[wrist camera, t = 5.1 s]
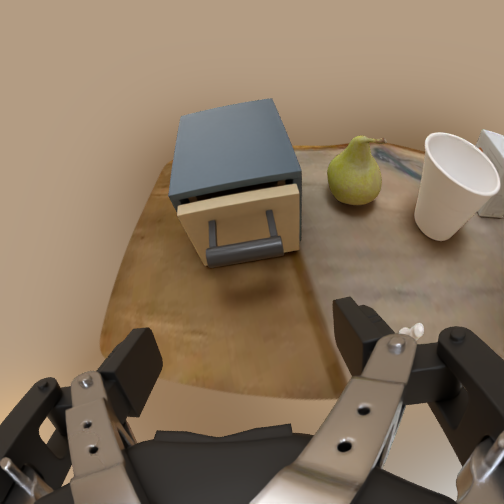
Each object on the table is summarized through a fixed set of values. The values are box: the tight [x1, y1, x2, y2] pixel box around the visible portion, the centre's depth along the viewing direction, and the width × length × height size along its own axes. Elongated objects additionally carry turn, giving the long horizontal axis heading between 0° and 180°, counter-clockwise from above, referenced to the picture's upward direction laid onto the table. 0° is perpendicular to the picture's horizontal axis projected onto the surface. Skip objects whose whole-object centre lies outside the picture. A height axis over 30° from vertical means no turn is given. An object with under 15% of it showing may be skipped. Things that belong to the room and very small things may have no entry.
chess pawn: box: [399, 323, 424, 340], centre depth 22 cm, size 3×2×4 cm
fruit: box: [327, 136, 387, 205], centre depth 28 cm, size 7×8×12 cm
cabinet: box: [168, 99, 302, 241], centre depth 31 cm, size 15×12×11 cm
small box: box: [476, 129, 504, 218], centre depth 26 cm, size 8×6×10 cm
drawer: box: [177, 180, 299, 268], centre depth 28 cm, size 18×10×9 cm, turn 6°
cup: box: [414, 133, 500, 241], centre depth 25 cm, size 10×10×11 cm
